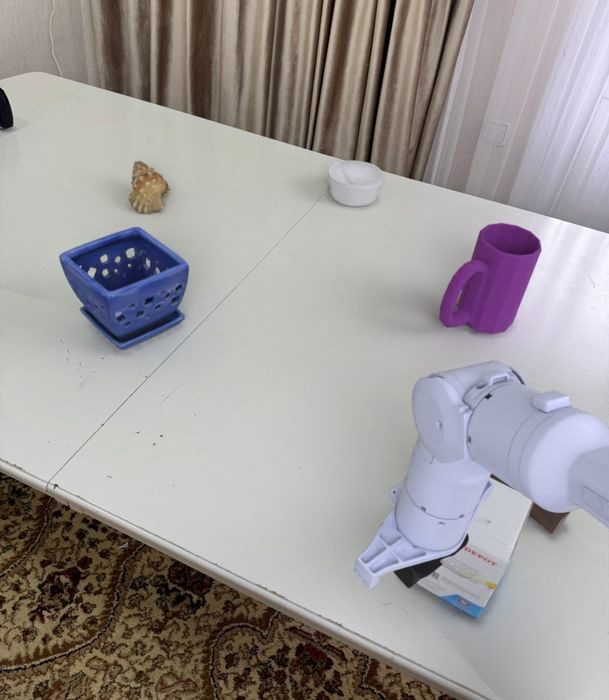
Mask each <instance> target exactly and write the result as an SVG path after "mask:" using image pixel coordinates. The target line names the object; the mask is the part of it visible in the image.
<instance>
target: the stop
mask: <svg viewBox="0 0 609 700" xmlns="http://www.w3.org/2000/svg"><path fill="white" fill-rule="evenodd" d="M490 478H492V479H494V480H496V481H498V482H500V483H502V484H504V485H506V486H508V487H510V488H512V487H511V486H509V485H508V484H506V483H505V482H503V481H502V480H500V479H499V478H498V477H496V476H495V475H493V474H492V473H491V475H490ZM512 489H514V488H512ZM514 490H515V489H514ZM516 491H517V490H516ZM570 514H571V511H570V512H564V513H556V512H551V511H547V510H545V509H543V508H542V507H540V506H539V505H537V504H536V503H535V502H533V504H532V507H531V510H530V513H529V516H530V517H531V518H532V519H533V520H535V521H536V522H537V523H538V524H539V525H540V526H542V527H543V528H544V529H545V530H546V531H547V532H549V533H550V534H551V535H553V534H554V533H555V532H557V531H558V530H559V529H560V528H561V527H562V526H563V524H564V523H565V521H566V519H567V518H568V517H569V515H570Z"/></svg>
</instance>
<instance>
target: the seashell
mask: <svg viewBox="0 0 609 700" xmlns="http://www.w3.org/2000/svg"><path fill="white" fill-rule="evenodd" d="M132 169H133V170H132V175H131V182H130V183H131V185H132V189H133V190H132V191H131V193H130V194H129V195H128V197H127V198H128V201H129V203H130V206H131V207H132V208H133V210H134V211H136V212H137V213H139V214H143V215H147V214H148V215H150V214H154V213H157V212H158V211H159V212H162V211H164V210H165V206H164V204H163V202H162V199H164V198H167V197H168V195H170V189H171V188H170V186H169V184H168V182H167V180H165V178H164V176H163V175H162V174H161V173H160V172H158V171H155V168H154V167H151V166H149V165H148V164H147V163H145V162H143V161H142V160H137V161H134V162H133V166H132Z"/></svg>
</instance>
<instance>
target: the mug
mask: <svg viewBox="0 0 609 700" xmlns="http://www.w3.org/2000/svg"><path fill="white" fill-rule="evenodd" d="M541 253H542V243H541V239H539V237H537V236H536V235H535V234H534V233H533V232H532V231H531V230H529V229H527V228H524V227H521V226H520V225H517V224H511V223H505V222H497V223H489V224H487V225H485V226H484V227H483V228H481V229H480V230H479V232H478V236H477V239H476V242H475V245H474V249H473V252H472V255H471V259H470V260H469V261H467V262H465V263H463V264H462V265H461V266H460V267H459V268H458V269H456V271H455V273H453V275H452V277H451V279H450V280H449V283H448V284H447V287H446V289H445V291H444V294H443V296H442V299H441V303H440V307H439V313H438V314H439V315H438V320H439V321H440V322H441V323H442V325H443V326H444V327H445V328H448V329H449V328H451V329H453V328H457V327H461V326H463V325H466V326H468V327H469V328H471V329H472V330H473V331H476V332H478V333H484V334H489V335H495V334H498V333H504V332H506V331H507V330H508V329H509V328H510V327H511V326H512V325H513V324H514V322H515V319H516V317H517V314H518V311H519V309H520V307H521V304H522V301H523V299H524V296H525V294H526V292H527V288H528V286H529V284H530V281H531V278H532V276H533V273H534V271H535V269H536V265H537V263H538V260H539V258H540V256H541ZM455 307H456V310H455Z"/></svg>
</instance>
